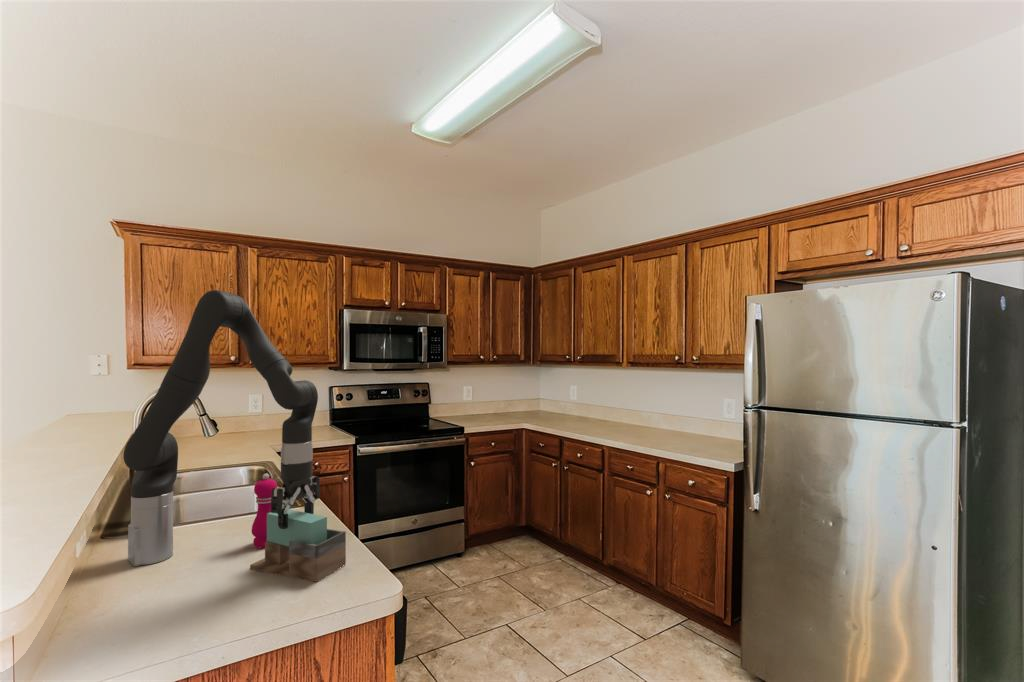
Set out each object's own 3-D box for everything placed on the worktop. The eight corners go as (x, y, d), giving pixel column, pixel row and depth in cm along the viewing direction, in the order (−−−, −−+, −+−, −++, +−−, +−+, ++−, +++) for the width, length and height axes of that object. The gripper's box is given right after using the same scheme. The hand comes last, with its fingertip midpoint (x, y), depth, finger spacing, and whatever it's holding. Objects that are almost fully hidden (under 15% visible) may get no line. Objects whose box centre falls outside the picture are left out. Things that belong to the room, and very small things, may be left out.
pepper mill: (284, 539, 148) (284, 470, 148) (270, 549, 141) (270, 476, 141) (261, 538, 149) (261, 470, 149) (245, 548, 141) (246, 476, 142)
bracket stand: (250, 568, 128) (250, 534, 128) (281, 553, 138) (281, 522, 138) (317, 582, 121) (317, 546, 121) (345, 564, 130) (345, 531, 130)
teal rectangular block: (266, 541, 131) (266, 513, 131) (283, 534, 135) (283, 508, 136) (310, 552, 124) (311, 523, 124) (326, 544, 128) (326, 516, 128)
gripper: (305, 452, 138) (305, 512, 138) (263, 463, 125) (262, 530, 124) (328, 454, 135) (327, 516, 135) (286, 466, 122) (286, 534, 122)
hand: (296, 522), depth 130 cm, fingers open, 8 cm apart
